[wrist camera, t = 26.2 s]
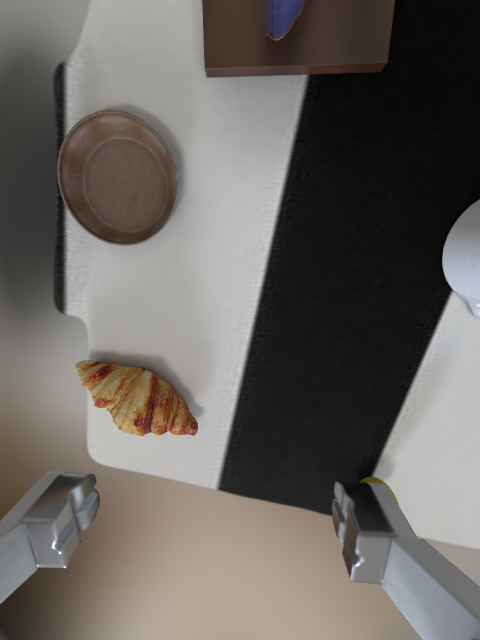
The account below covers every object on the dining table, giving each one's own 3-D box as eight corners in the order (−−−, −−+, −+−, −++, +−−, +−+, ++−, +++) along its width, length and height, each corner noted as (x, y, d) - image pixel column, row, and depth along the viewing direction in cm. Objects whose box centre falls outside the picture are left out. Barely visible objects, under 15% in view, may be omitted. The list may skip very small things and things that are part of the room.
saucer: (119, 91, 30) (107, 76, 27) (206, 189, 32) (202, 184, 30) (50, 185, 33) (32, 179, 30) (134, 268, 35) (124, 269, 33)
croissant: (92, 364, 44) (54, 403, 38) (92, 331, 37) (46, 372, 31) (197, 420, 45) (177, 465, 39) (216, 398, 39) (195, 449, 33)
